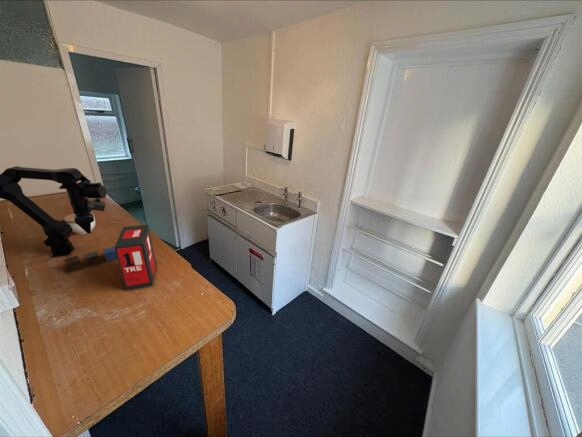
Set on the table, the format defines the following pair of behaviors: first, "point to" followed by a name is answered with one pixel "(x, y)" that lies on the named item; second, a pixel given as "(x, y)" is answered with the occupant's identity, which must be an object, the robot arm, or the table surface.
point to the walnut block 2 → (92, 258)
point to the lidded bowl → (75, 227)
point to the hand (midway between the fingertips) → (88, 229)
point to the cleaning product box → (136, 256)
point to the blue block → (110, 254)
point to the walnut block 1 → (73, 263)
